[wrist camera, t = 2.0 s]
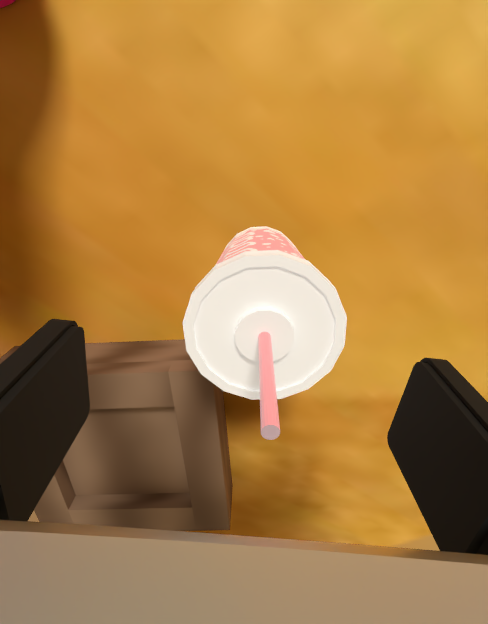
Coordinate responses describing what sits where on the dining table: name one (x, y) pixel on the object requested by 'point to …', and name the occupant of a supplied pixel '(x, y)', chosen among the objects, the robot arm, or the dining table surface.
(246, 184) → the dining table surface
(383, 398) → the dining table surface
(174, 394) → the walnut tray
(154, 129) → the dining table surface
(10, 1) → the pepper mill
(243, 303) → the beverage cup
